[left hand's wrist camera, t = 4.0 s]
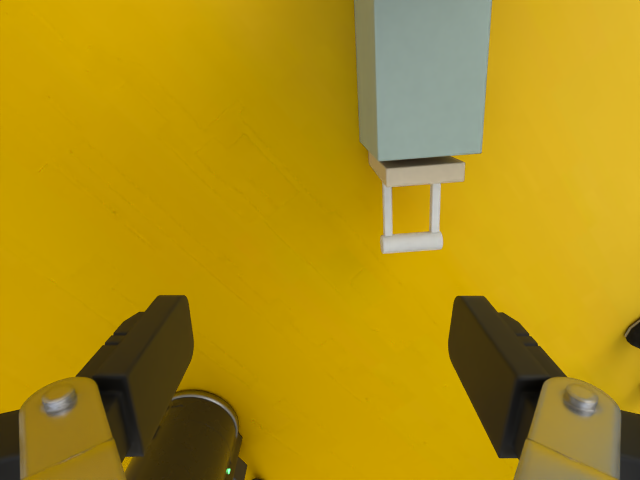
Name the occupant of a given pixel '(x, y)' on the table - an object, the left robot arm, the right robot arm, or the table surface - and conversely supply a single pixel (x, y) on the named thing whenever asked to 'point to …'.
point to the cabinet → (421, 76)
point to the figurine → (634, 334)
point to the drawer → (415, 174)
